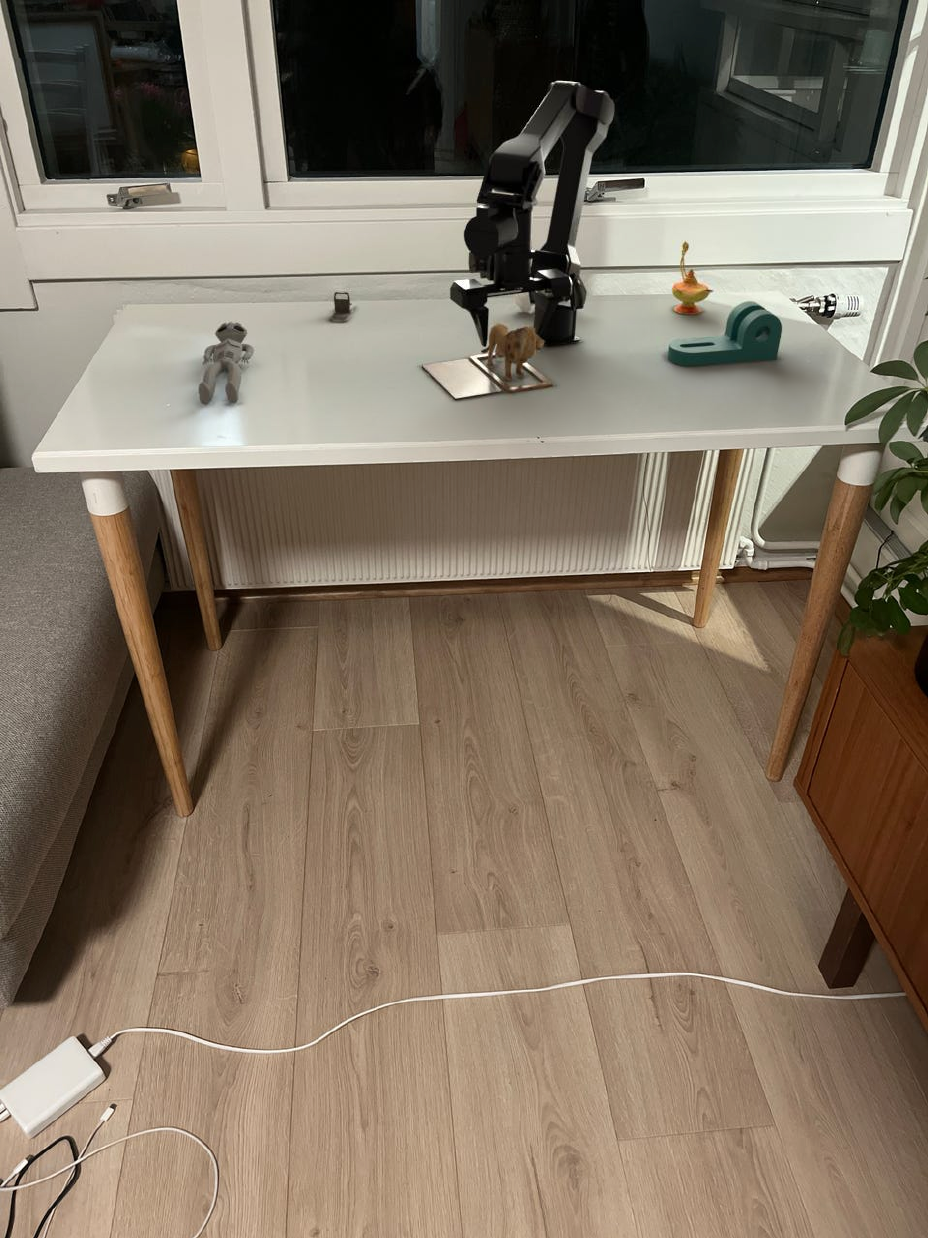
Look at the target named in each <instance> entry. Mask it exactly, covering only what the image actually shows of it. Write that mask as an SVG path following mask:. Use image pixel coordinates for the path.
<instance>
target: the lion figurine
mask: <svg viewBox="0 0 928 1238" xmlns="http://www.w3.org/2000/svg"><path fill="white" fill-rule="evenodd" d="M544 342H545V341H544V340H543V339H541V338H540V337H539V336H538V335H537V334H536V333H535V328H533V326H526V325H525V326H523V327H520V328H516V329H513V330H510V331H509V328H508V327H507V325H506V324H504V323H500V322H497V323H495V324H494V325H492V327H491V328H490V331H489V333H488V346H486V347H485V348H484V349H483V348H482V350H480V352H481V353H482V354H488V358H487V362H486V367H487V368H488V367H489V368H491V367H494V362H493V358H496V359H502V358H503V359H504V381H505V382H511V381H513V375H512V365H513V364H516V367H515V375H516V377H518V378H524V377H525V372H522V368H523V367H522V365H523V364H524V363H528V360H530V359H532V358H533V357H534V356H536V352H538V353H539V352H541V349H542V348H543V347H544ZM494 350H495V351H494ZM493 353H495V357H493ZM502 355H503V356H502Z"/></svg>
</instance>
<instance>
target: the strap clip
mask: <svg viewBox="0 0 928 1238" xmlns="http://www.w3.org/2000/svg"><path fill="white" fill-rule="evenodd" d="M337 295H346V296H347V298H337ZM333 304H334V305H333V306H334V311H335V312H334V314H333V315H332V316H331V321H332V322H346V321H348V320H349V318H350V314H352V313H353V311H354V310H355V303H351V296H350V293H349V292H347V291H335V292H334V294H333Z"/></svg>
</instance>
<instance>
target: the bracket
mask: <svg viewBox="0 0 928 1238" xmlns="http://www.w3.org/2000/svg"><path fill="white" fill-rule="evenodd" d="M782 335H783V324H782V321H781V319H780V318H779V317H778V316H777V315H775V314H774V313H772V312H771V311H769V310H767V309H766V308H765V307H763V306H762V305H761V304H759V303H757V302H756V301H752V300H747V301H743V302H741V303H739V304H737V305H736V306H735V307H734V308H733V309H732V310H731V311H730V312H729V314H728V317H727V320H726V325H725V331H724V334H722V335H713V336H711V335H709V336H698V337H685V338H677V339H672V340H671V341H670V342H669V343H668V350H667V360H668V361H670V362H671V363H673V364H675V365H678V366H679V365H681V366H686V367H696V366H710V365H721V364H732V363H733V364H734V363H735V364H736V363H746V362H757V361H769V360H777V359H778V353H779V351H780V344H781V340H782Z"/></svg>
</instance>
